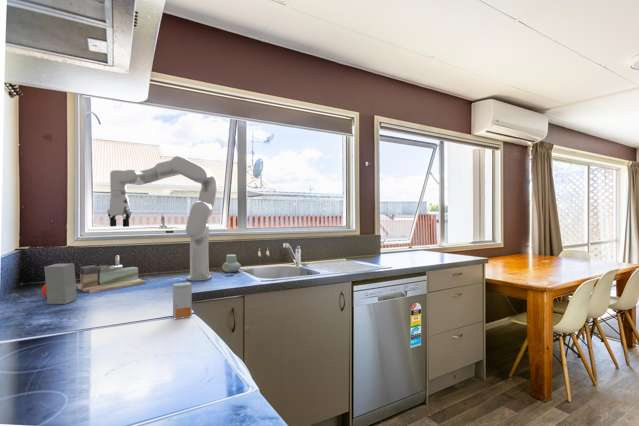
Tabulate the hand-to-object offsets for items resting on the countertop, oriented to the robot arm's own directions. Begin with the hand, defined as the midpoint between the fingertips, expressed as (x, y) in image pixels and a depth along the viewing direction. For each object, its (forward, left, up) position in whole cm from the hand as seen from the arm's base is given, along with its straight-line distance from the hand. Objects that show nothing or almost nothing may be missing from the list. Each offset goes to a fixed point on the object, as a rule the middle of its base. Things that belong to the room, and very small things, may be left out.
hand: (119, 226), depth 186 cm
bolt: (-9, +8, -21) cm, 24 cm away
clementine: (-13, +34, -29) cm, 46 cm away
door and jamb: (-9, +8, -29) cm, 31 cm away
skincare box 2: (-82, +14, -29) cm, 88 cm away
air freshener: (-26, -52, -29) cm, 65 cm away
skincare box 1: (-25, +34, -29) cm, 51 cm away
